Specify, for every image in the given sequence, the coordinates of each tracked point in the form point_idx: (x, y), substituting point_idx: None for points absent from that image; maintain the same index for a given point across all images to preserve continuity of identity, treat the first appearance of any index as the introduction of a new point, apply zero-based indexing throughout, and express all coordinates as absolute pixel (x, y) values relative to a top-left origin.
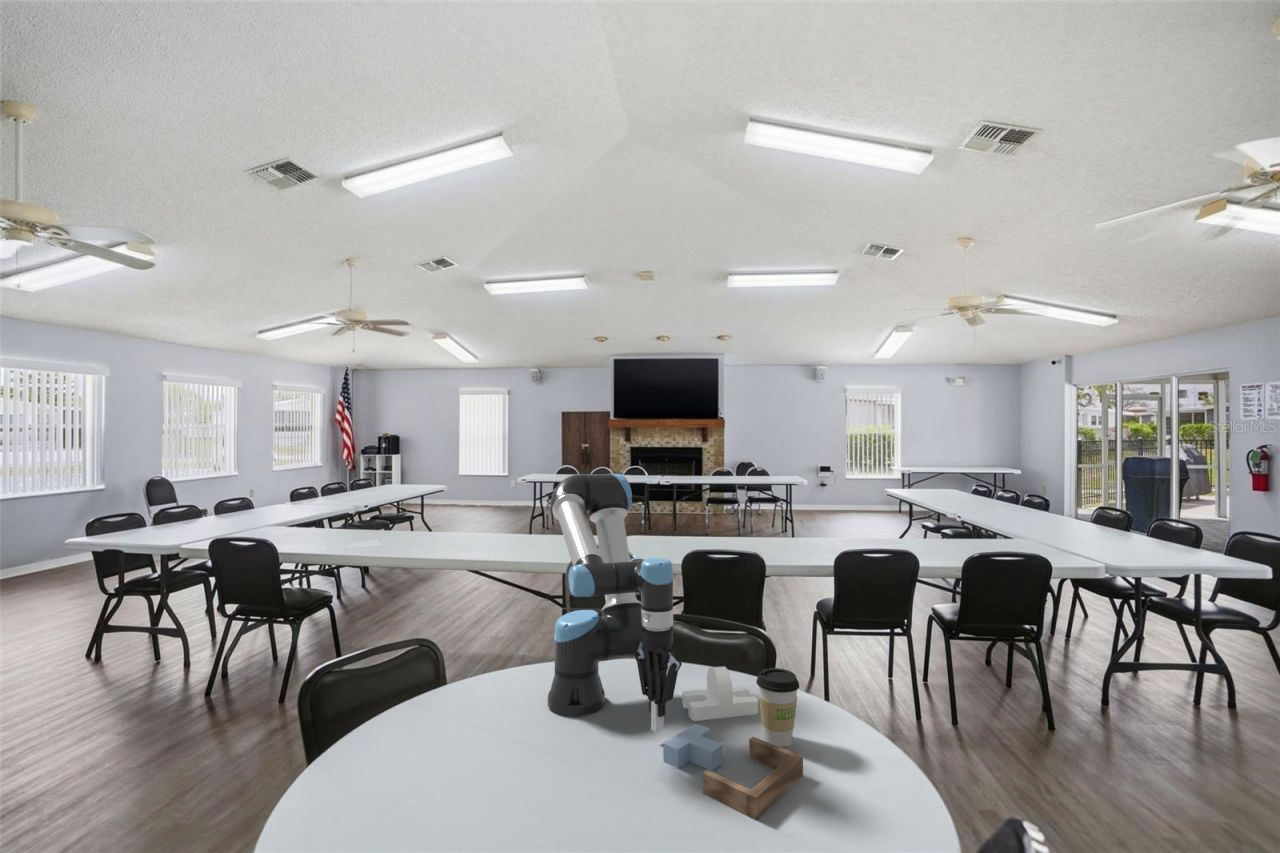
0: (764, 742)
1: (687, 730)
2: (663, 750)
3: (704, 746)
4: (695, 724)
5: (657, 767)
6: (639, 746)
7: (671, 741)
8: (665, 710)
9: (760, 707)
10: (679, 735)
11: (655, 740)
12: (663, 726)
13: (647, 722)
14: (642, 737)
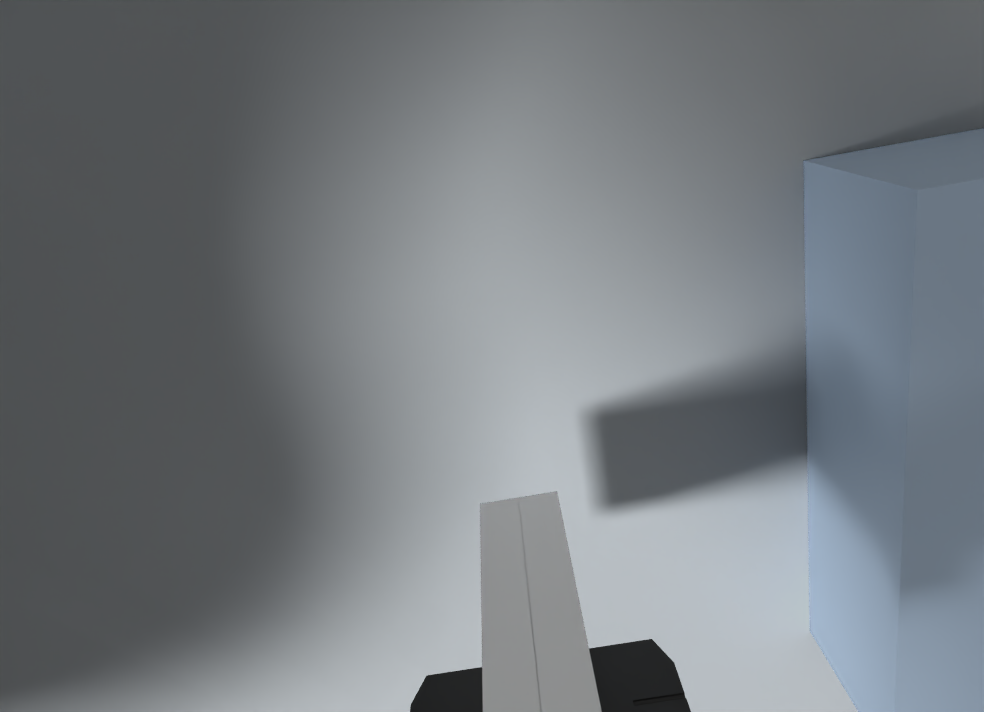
0: None
1: (935, 421)
2: (855, 706)
3: None
4: (926, 219)
5: (826, 701)
6: None
7: (937, 698)
8: (686, 701)
9: None
10: (930, 569)
11: (503, 491)
12: (558, 499)
13: (130, 336)
14: (380, 549)
